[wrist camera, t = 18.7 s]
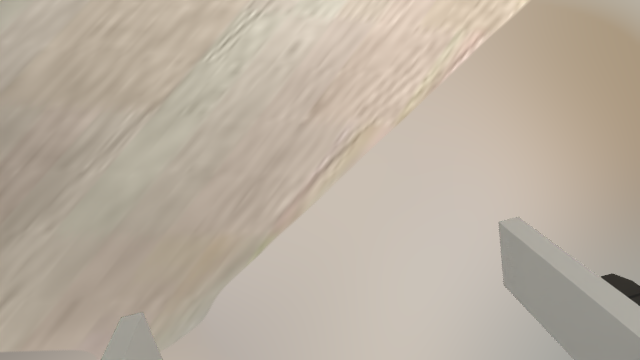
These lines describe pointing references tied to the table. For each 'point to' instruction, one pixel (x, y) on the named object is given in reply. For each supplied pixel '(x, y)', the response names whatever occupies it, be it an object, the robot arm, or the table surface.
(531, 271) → the robot arm
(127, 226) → the table surface
